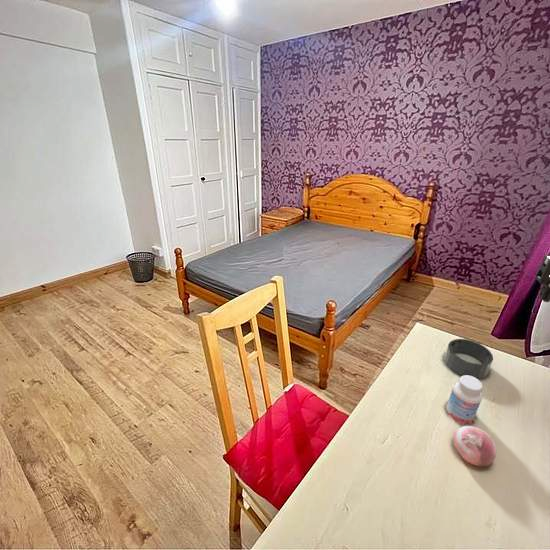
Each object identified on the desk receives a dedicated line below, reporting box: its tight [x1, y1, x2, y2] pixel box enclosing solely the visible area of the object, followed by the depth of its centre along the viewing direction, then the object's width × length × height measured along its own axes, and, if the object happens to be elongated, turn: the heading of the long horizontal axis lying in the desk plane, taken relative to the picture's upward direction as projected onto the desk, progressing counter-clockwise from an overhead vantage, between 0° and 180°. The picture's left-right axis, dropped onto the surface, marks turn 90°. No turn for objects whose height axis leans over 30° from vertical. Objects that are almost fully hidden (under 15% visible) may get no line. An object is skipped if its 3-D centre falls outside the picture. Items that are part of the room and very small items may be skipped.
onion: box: [452, 425, 497, 467], centre depth 66 cm, size 8×8×7 cm
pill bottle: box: [445, 375, 483, 424], centre depth 74 cm, size 6×6×11 cm
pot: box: [444, 338, 494, 380], centre depth 90 cm, size 11×11×6 cm
